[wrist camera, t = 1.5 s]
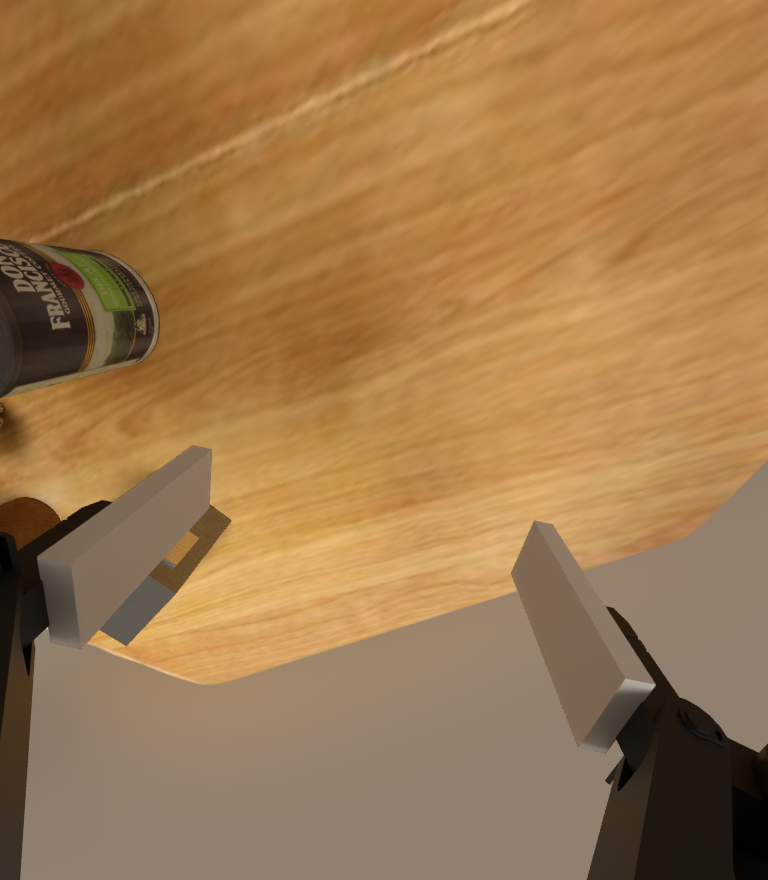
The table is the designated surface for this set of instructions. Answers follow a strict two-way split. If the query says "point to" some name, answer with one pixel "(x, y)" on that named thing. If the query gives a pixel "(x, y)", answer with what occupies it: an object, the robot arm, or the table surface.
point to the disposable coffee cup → (26, 519)
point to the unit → (165, 578)
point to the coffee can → (69, 315)
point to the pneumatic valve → (0, 420)
